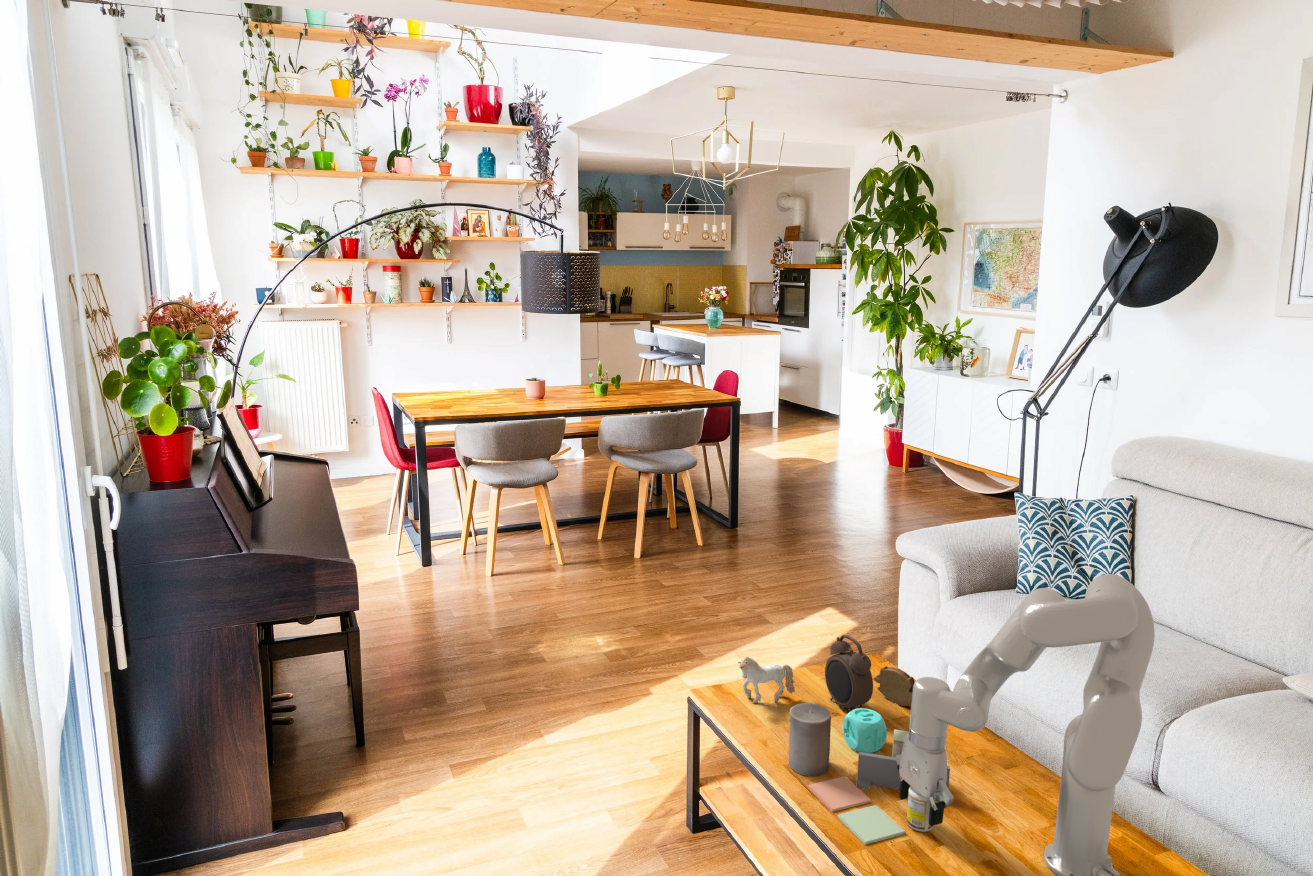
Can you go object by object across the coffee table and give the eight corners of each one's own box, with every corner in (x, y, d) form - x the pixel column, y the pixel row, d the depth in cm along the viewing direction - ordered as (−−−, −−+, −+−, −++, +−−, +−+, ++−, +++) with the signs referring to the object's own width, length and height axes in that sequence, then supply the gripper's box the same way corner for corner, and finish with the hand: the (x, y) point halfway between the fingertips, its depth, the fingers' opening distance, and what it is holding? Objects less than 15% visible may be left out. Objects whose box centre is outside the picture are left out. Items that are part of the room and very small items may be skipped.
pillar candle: (830, 758, 215) (833, 700, 212) (827, 779, 205) (829, 719, 203) (790, 752, 217) (792, 695, 215) (785, 773, 208) (787, 714, 205)
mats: (904, 833, 186) (904, 831, 186) (864, 844, 182) (865, 842, 182) (844, 778, 206) (844, 776, 206) (807, 787, 202) (807, 785, 202)
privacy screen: (947, 788, 203) (949, 760, 201) (947, 803, 197) (950, 774, 196) (857, 773, 208) (859, 746, 207) (856, 787, 202) (858, 759, 201)
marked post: (913, 771, 209) (916, 732, 207) (913, 783, 205) (916, 743, 203) (891, 768, 211) (894, 729, 209) (890, 779, 206) (893, 740, 204)
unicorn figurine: (723, 702, 241) (724, 657, 239) (781, 688, 250) (783, 643, 248) (737, 714, 235) (739, 667, 233) (796, 699, 244) (799, 653, 242)
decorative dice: (857, 756, 216) (859, 725, 214) (841, 739, 223) (843, 710, 222) (886, 751, 218) (888, 721, 217) (868, 735, 226) (870, 706, 224)
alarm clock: (819, 698, 245) (822, 630, 241) (840, 693, 248) (844, 626, 244) (851, 722, 232) (856, 651, 228) (873, 717, 235) (878, 646, 231)
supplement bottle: (927, 816, 192) (930, 773, 190) (937, 832, 187) (941, 788, 185) (902, 817, 191) (905, 774, 190) (912, 833, 186) (915, 789, 184)
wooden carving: (930, 711, 238) (933, 677, 236) (921, 717, 235) (924, 682, 233) (877, 690, 250) (879, 657, 248) (868, 695, 247) (870, 662, 245)
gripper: (887, 720, 191) (880, 791, 195) (940, 761, 176) (932, 839, 179) (915, 714, 194) (908, 785, 197) (970, 755, 179) (962, 831, 182)
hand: (920, 810), depth 188 cm, fingers open, 9 cm apart
